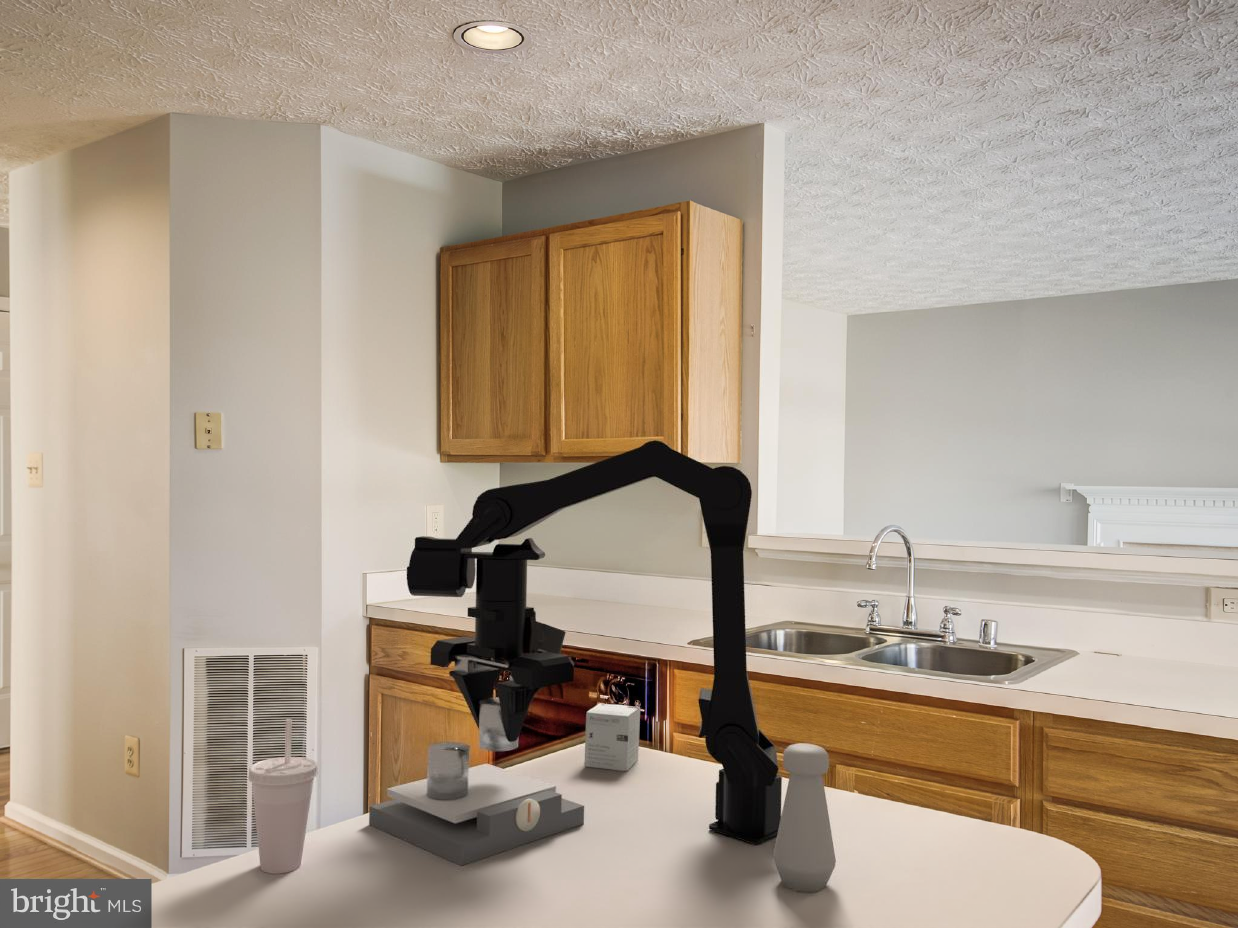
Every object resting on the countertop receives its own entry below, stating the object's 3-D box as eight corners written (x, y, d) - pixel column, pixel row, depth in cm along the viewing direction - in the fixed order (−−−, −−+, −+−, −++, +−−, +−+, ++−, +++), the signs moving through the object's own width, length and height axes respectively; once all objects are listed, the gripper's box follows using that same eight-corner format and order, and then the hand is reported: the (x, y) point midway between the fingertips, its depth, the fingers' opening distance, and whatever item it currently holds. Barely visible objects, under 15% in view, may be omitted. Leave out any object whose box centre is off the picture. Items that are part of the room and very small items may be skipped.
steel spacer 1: (475, 795, 107) (477, 748, 107) (437, 802, 104) (439, 753, 104) (456, 785, 110) (457, 740, 110) (419, 791, 107) (421, 744, 108)
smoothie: (329, 860, 98) (333, 717, 98) (282, 884, 92) (286, 732, 92) (279, 849, 100) (283, 710, 101) (230, 871, 95) (234, 723, 95)
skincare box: (583, 767, 131) (584, 711, 131) (597, 755, 137) (598, 701, 137) (627, 771, 130) (629, 715, 130) (639, 759, 136) (640, 705, 136)
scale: (586, 824, 109) (587, 782, 109) (463, 866, 97) (464, 819, 97) (490, 790, 120) (491, 752, 121) (369, 824, 108) (370, 781, 108)
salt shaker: (840, 897, 92) (842, 755, 92) (777, 895, 92) (780, 753, 92) (828, 872, 97) (830, 739, 98) (769, 870, 97) (771, 737, 98)
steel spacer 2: (526, 745, 112) (526, 701, 112) (496, 753, 109) (497, 707, 109) (500, 738, 115) (501, 695, 115) (470, 745, 112) (471, 701, 112)
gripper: (610, 600, 112) (607, 739, 112) (501, 586, 125) (499, 711, 124) (537, 609, 104) (534, 759, 104) (429, 593, 117) (426, 726, 116)
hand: (498, 737), depth 112 cm, fingers closed on steel spacer 2, 4 cm apart
